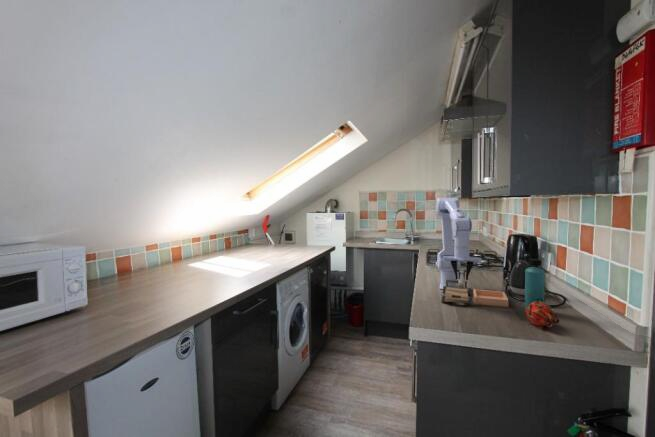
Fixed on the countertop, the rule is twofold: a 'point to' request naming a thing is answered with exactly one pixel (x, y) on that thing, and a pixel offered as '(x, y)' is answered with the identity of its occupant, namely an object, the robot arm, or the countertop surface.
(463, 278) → the pin
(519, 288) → the pump dispenser
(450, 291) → the trolley
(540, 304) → the dragon fruit
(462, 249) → the robot arm
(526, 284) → the teal bottle
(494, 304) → the tray
